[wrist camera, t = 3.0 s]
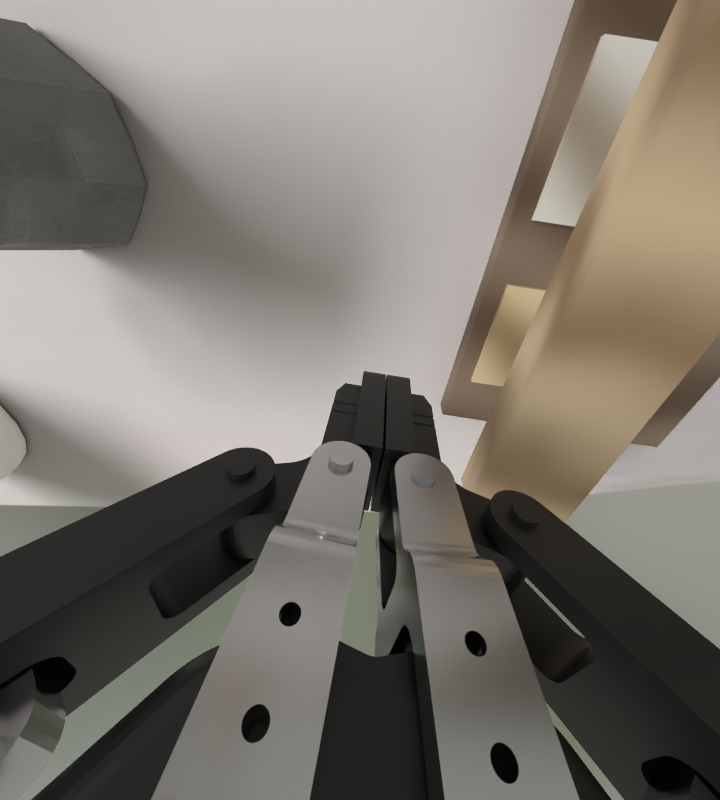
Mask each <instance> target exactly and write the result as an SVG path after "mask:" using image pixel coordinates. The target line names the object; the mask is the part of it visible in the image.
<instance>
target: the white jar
mask: <svg viewBox="0 0 720 800" xmlns="http://www.w3.org/2000/svg"><path fill="white" fill-rule="evenodd" d="M25 454H26V440H25V438H24V436H23V434H22V432H21V430H20V429H19V427H18V425H17V423H16V422H15V421H14V420H13V419H12V418H11V417H10V416H9V414H8V413H7V412H6V411H5V410H4V409H3V408H2V407H1V406H0V480H2V479H3V478H4V477H6V476H7V475H8V474H10V473H11V472H12V471H14V470H15V469H16V468H17V467H18V466H19V464H20V463H21V461H22V460H23V458H24V456H25Z"/></svg>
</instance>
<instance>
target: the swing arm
mask: <svg viewBox="0 0 720 800" xmlns="http://www.w3.org/2000/svg"><path fill="white" fill-rule="evenodd" d="M719 334H720V0H677V2H676V4H675V6H674V8H673V11H672V13H671V15H670V17H669V19H668V22H667V24H666V26H665V28H664V31H663V33H662V35H661V37H660V39H659V42H658V44H657V46H656V48H655V50H654V53H653V55H652V57H651V59H650V62H649V64H648V66H647V68H646V70H645V73H644V75H643V77H642V79H641V81H640V84H639V86H638V88H637V90H636V93H635V95H634V97H633V99H632V101H631V104H630V106H629V108H628V110H627V112H626V115H625V117H624V119H623V121H622V124H621V126H620V128H619V130H618V132H617V135H616V137H615V139H614V141H613V143H612V146H611V148H610V150H609V152H608V154H607V157H606V159H605V161H604V163H603V166H602V168H601V170H600V172H599V174H598V177H597V179H596V181H595V183H594V185H593V188H592V190H591V192H590V194H589V197H588V199H587V201H586V203H585V205H584V208H583V210H582V212H581V214H580V216H579V219H578V221H577V223H576V225H575V228H574V230H573V232H572V234H571V236H570V239H569V241H568V243H567V245H566V247H565V250H564V252H563V254H562V256H561V259H560V261H559V263H558V265H557V267H556V270H555V272H554V274H553V276H552V278H551V281H550V283H549V285H548V287H547V290H546V292H545V294H544V296H543V298H542V301H541V303H540V305H539V307H538V309H537V312H536V314H535V316H534V318H533V320H532V323H531V325H530V327H529V329H528V332H527V334H526V336H525V338H524V340H523V343H522V345H521V347H520V349H519V351H518V354H517V356H516V358H515V360H514V363H513V365H512V367H511V369H510V371H509V374H508V376H507V378H506V380H505V382H504V385H503V387H502V389H501V391H500V394H499V396H498V398H497V400H496V402H495V405H494V407H493V409H492V411H491V413H490V416H489V418H488V420H487V422H486V425H485V427H484V429H483V431H482V433H481V436H480V438H479V440H478V442H477V444H476V447H475V449H474V451H473V453H472V456H471V458H470V460H469V462H468V464H467V467H466V469H465V471H464V473H463V475H462V478H461V481H462V485H463V488H465V489H467V490H469V491H471V492H474V493H476V494H478V495H481V496H483V497H486V498H488V499H490V500H491V498H492V497H493V495H494V494H496V493H497V492H499V491H503V490H513V491H518V492H521V493H524V494H526V495H528V496H530V497H532V498H534V499H535V500H537V501H538V502H540V503H541V504H542V505H543V506H545V507H546V508H547V509H548V510H550V511H551V512H552V513H553V514H554V515H556V516H557V517H558V518H559V519H561V520H562V521H563V522H564V523H565V522H566V520H567V519H568V518H569V517H570V515H571V514H572V513H573V512H574V510H575V509H576V508H577V507H578V506H579V505H580V503H581V502H582V501H583V499H584V498H585V497H586V496H587V495H588V494H589V492H590V491H591V490H592V489H593V487H594V486H595V485H596V484H597V483H598V481H599V480H600V479H601V478H602V477H603V475H604V474H605V473H606V472H607V470H608V469H609V468H610V467H611V466H612V464H613V463H614V462H615V461H616V460H617V458H618V457H619V456H620V455H621V453H622V452H623V451H624V450H625V449H626V447H627V446H628V445H629V444H630V442H631V441H632V440H633V439H634V438H635V436H636V435H637V434H638V433H639V432H640V430H641V429H642V428H643V427H644V425H645V424H646V423H647V422H648V421H649V419H650V418H651V417H652V416H653V414H654V413H655V412H656V411H657V410H658V408H659V407H660V406H661V405H662V404H663V402H664V401H665V400H666V399H667V397H668V396H669V395H670V394H671V393H672V391H673V390H674V389H675V388H676V386H677V385H678V384H679V383H680V382H681V380H682V379H683V378H684V377H685V376H686V374H687V373H688V372H689V371H690V369H691V368H692V367H693V366H694V365H695V363H696V362H697V361H698V360H699V358H700V357H701V356H702V355H703V354H704V352H705V351H706V350H707V349H708V348H709V346H710V345H711V344H712V343H713V341H714V340H715V339H716V338H717V337H718V335H719Z"/></svg>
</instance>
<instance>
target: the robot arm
mask: <svg viewBox="0 0 720 800" xmlns="http://www.w3.org/2000/svg"><path fill="white" fill-rule="evenodd" d="M434 426H435V425H434V419H433V413H432V407H431V405H430V404H429V402H428V401H427V400H426V399H425V397H424V396H422V395H415V394H411V387H410V379H409V378H404V377H398V376H392V375H387V377H386V375H385V374H379V373H372V372H366V371H364V374H363V380H362V386H358V385H352V384H346V383H345V384H344V385H343V386H342V387H341V388H340V389H338V390H337V392H336V395H335V399H334V403H333V406H332V410H331V413H330V417H329V420H328V424H327V427H326V431H325V434H324V438H323V441H322V444H321V446H319V447H318V448H317V449H316V450H315V451H314V453H313V454H312V456H311V457H309V458H307V459H304V460H301V461H298V462H292V463H281V464H275V463H274V461H273V459H272V458H271V456H270V455H268V454H267V453H266V452H264V451H262V450H259V449H255V448H237V449H233V450H229V451H227V452H224V453H222V454H220V455H218V456H216V457H214V458H212V459H209V460H207V461H205V462H203V463H201V464H199V465H197V466H194V467H192V468H190V469H188V470H186V471H184V472H181V473H179V474H177V475H175V476H173V477H171V478H169V479H166V480H164V481H162V482H160V483H158V484H156V485H154V486H151V487H149V488H147V489H145V490H143V491H141V492H138V493H136V494H134V495H132V496H130V497H128V498H126V499H123V500H121V501H119V502H117V503H115V504H113V505H111V506H108V507H106V508H104V509H102V510H100V511H98V512H95V513H94V514H91V515H89V516H87V517H85V518H83V519H80V520H79V521H76V522H74V523H72V524H70V525H68V526H66V527H63V528H61V529H59V530H57V531H55V532H52V533H50V534H48V535H46V536H44V537H42V538H40V539H38V540H35V541H33V542H31V543H29V544H27V545H25V546H23V547H20V548H18V549H16V550H14V551H12V552H10V553H7V554H5V555H3V556H1V557H0V800H16V799H17V798H18V797H19V796H20V795H21V794H22V793H23V792H24V791H25V790H26V789H27V788H28V787H29V786H30V785H31V784H32V782H33V781H34V780H35V779H36V778H37V777H38V775H39V774H40V773H41V771H42V770H43V768H44V767H45V766H46V764H47V763H48V761H49V759H50V758H51V756H52V754H53V753H54V750H55V748H56V746H57V744H58V742H59V740H60V737H61V734H62V731H63V727H64V723H65V717H66V716H67V715H69V714H70V713H71V712H73V711H74V710H75V709H77V708H78V707H79V706H80V705H82V704H83V703H84V702H86V701H87V700H88V699H90V698H91V697H92V696H93V695H95V694H96V693H97V692H99V691H100V690H101V689H103V688H104V687H105V686H106V685H108V684H109V683H110V682H111V681H113V680H114V679H116V678H117V677H118V676H119V675H121V674H122V673H123V672H125V671H126V670H127V669H128V668H130V667H131V666H132V665H134V664H135V663H136V662H137V661H139V660H140V659H141V658H143V657H144V656H145V655H147V654H148V653H149V652H151V651H152V650H153V649H154V648H156V647H157V646H158V645H160V644H161V643H162V642H163V641H165V640H166V639H167V638H169V637H170V636H171V635H173V634H174V633H175V632H177V631H178V630H179V629H180V628H182V627H183V626H184V625H186V624H187V623H188V622H190V621H191V620H192V619H193V618H195V617H196V616H197V615H199V614H200V613H201V612H202V611H204V610H205V609H206V608H208V607H209V606H210V605H212V604H213V603H214V602H215V601H217V600H218V599H219V598H221V597H222V596H223V595H224V594H226V593H227V592H228V591H230V590H231V589H232V588H234V587H235V586H236V585H238V584H239V583H240V582H241V581H243V580H244V579H245V578H246V577H248V576H249V575H250V574H252V575H251V577H250V579H249V582H248V584H247V586H246V588H245V590H244V593H243V595H242V597H241V599H240V602H239V604H238V606H237V608H236V611H235V613H234V615H233V617H232V620H231V622H230V624H229V627H228V628H227V631H226V633H225V636H224V638H223V640H222V642H221V644H220V645H219V646H217V647H215V648H212V649H210V650H208V651H206V652H205V653H203V654H201V655H200V656H198V657H196V658H194V659H193V660H191V661H190V662H188V663H187V664H186V665H184V666H183V667H182V668H180V669H179V670H177V671H176V672H175V673H174V674H172V675H171V676H170V677H169V678H168V679H166V680H165V681H164V682H163V683H162V684H161V685H160V686H158V687H157V688H156V689H155V690H154V691H153V692H152V693H151V694H149V695H148V696H147V697H146V698H145V699H144V700H143V701H142V702H141V703H139V704H138V705H137V706H136V707H135V708H134V709H133V710H132V711H130V712H129V713H128V714H127V715H126V716H125V717H124V718H123V719H121V720H120V721H119V722H118V723H117V724H116V725H115V726H114V727H113V728H112V729H110V730H109V731H108V732H107V733H106V734H105V735H103V736H102V737H101V738H100V739H99V740H98V741H97V742H96V743H95V744H93V745H92V746H91V747H90V748H89V749H88V750H87V751H86V752H84V754H82V755H81V756H80V757H79V758H78V759H77V760H76V761H74V762H73V763H72V764H71V765H70V766H69V767H68V768H66V769H65V770H64V771H63V772H62V773H61V774H60V775H59V776H57V777H56V778H55V779H54V780H53V781H52V782H51V783H50V784H49V785H47V786H46V787H45V788H44V789H43V790H42V791H41V792H39V793H38V794H37V795H36V796H35V797H34V798H33V799H32V800H611V798H610V797H609V796H608V794H607V793H606V792H605V791H604V789H603V788H602V786H601V785H600V784H599V782H598V781H597V780H596V778H595V777H594V776H593V775H592V773H591V772H590V770H589V769H588V768H587V766H586V765H585V764H584V763H583V761H582V760H581V758H580V757H579V756H578V754H577V753H576V752H575V751H574V749H573V748H572V746H571V745H570V744H569V743H568V741H567V740H566V739H565V738H564V736H563V735H562V734H561V733H560V732H559V730H558V729H557V728H556V727H555V726H554V725H553V722H552V719H551V716H550V713H549V711H548V707H547V705H546V702H547V704H548V705H549V706H550V707H551V709H552V710H553V711H554V712H555V714H556V715H557V716H558V717H559V718H560V720H561V721H562V722H563V724H564V725H565V726H566V727H567V729H568V730H569V731H570V732H571V734H572V735H573V736H574V737H575V738H576V740H577V741H578V742H579V744H580V745H581V746H582V747H583V749H584V750H585V751H586V752H587V754H588V755H589V756H590V757H591V758H592V760H593V761H594V762H595V763H596V765H597V766H598V767H599V768H600V770H601V771H602V772H603V773H604V775H605V776H606V777H607V778H608V780H609V781H610V782H611V783H612V785H613V786H614V787H615V788H616V789H617V791H618V792H619V793H620V795H621V796H622V797H623V798H624V800H720V649H719V648H717V647H716V646H715V645H714V644H713V643H711V642H710V641H709V640H708V639H706V638H705V637H704V636H702V634H700V633H699V632H698V631H697V630H695V629H694V628H693V627H692V626H691V625H689V624H688V623H687V622H686V621H684V620H683V619H682V618H681V617H679V616H678V615H677V614H676V613H675V612H673V611H672V610H671V609H670V608H668V607H667V606H666V605H665V604H664V603H662V602H661V601H660V600H659V599H657V598H656V597H655V596H653V595H652V594H651V593H650V592H649V591H648V590H646V589H645V588H644V587H643V586H641V585H640V584H639V583H638V582H637V581H635V580H634V579H633V578H632V577H630V576H629V575H628V574H627V573H625V572H624V571H623V570H622V569H621V568H619V567H618V566H617V565H616V564H614V563H613V562H612V561H611V560H609V559H608V558H607V557H606V556H605V555H603V554H602V553H601V552H600V551H599V550H597V549H596V548H595V547H594V546H592V545H591V544H590V543H589V542H587V541H586V540H585V539H584V538H583V537H581V536H580V535H579V534H578V533H577V532H575V531H574V530H573V529H572V528H570V527H569V526H568V525H567V524H565V523H564V522H563V521H562V520H561V519H559V518H558V517H557V516H556V515H554V514H553V513H552V512H551V511H550V510H548V509H547V508H546V507H545V506H543V505H542V504H541V503H540V502H538V501H537V500H535V499H534V498H532V497H530V496H528V495H526V494H524V493H521V492H518V491H513V490H503V491H499V492H497V493H496V494H494V495H493V497H492V498H491V500H490V499H488V498H486V497H483V496H481V495H478V494H476V493H474V492H471V491H469V490H467V489H465V488H463V487H461V486H460V485H458V484H457V483H455V481H454V478H453V475H452V473H451V471H450V470H449V469H448V467H447V466H446V465H445V464H444V463H442V462H441V459H440V453H439V448H438V442H437V436H436V430H435V428H434ZM371 496H372V499H371ZM370 501H371V511H375V512H380V516H379V527H378V531H377V534H376V570H377V603H378V620H377V630H376V638H375V657H373V656H369V655H366V654H364V653H362V652H360V651H358V650H356V649H354V648H352V647H350V646H348V645H346V644H344V643H342V642H340V641H339V638H340V632H341V628H342V622H343V617H344V611H345V606H346V601H347V595H348V590H349V584H350V579H351V574H352V568H353V563H354V557H355V552H356V546H357V538H358V532H359V530H360V527H361V522H362V518H363V513H364V510H368V509H369V505H370ZM526 577H527V578H528V579H529V580H530V581H531V582H532V583H533V584H534V585H535V587H536V588H538V590H539V591H540V592H542V594H543V595H544V596H545V597H546V598H547V599H549V601H550V602H551V603H552V604H553V605H554V606H555V607H556V608H557V609H558V610H559V611H560V612H561V613H562V614H563V615H564V616H565V617H566V618H567V619H568V620H569V621H570V622H571V623H572V624H573V625H574V626H575V627H576V628H577V629H578V630H579V631H580V632H581V633H582V634H583V635H584V637H585V638H583V637H581V636H579V635H578V634H577V633H575V632H574V631H573V630H572V629H571V628H570V627H569V626H568V625H567V624H566V623H565V622H564V621H563V620H562V619H561V618H560V617H559V616H558V615H557V614H556V613H555V612H554V611H553V610H552V609H551V608H550V607H549V606H548V605H547V604H546V603H545V602H544V600H543V599H542V598H541V597H540V596H539V595H538V594H537V593H536V592H535V591H534V590H533V589H532V588H531V587H530V586H529V585H528V584H527V583H526V582H525V581H524V579H525V578H526ZM545 701H546V702H545Z"/></svg>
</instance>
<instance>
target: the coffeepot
mask: <svg viewBox="0 0 720 800" xmlns="http://www.w3.org/2000/svg"><path fill="white" fill-rule="evenodd" d="M146 186H147V185H146V182H145V179H144V175H143V172H142V169H141V165H140V162H139V159H138V156H137V153H136V149H135V146H134V143H133V141H132V139H131V137H130V135H129V132H128V130H127V128H126V126H125V124H124V122H123V120H122V119H121V117H120V115H119V114H118V112H117V110H116V108H115V105H114V103H113V100H112V98H111V95H110V93H109V92H108V91H106V90H105V89H104V88H103V87H102V86H100V85H99V84H98V83H97V82H96V81H94V80H93V79H92V78H91V77H90V76H89V75H88V74H87V73H86V72H85V71H84V70H83V69H82V68H81V67H80V66H79V65H78V64H77V63H76V62H74V61H73V60H72V59H70V58H69V57H67V56H66V55H65V54H63V53H62V52H60V51H59V50H58V49H56V48H55V47H54V46H52V45H51V44H50V43H49V42H48V41H46V40H45V39H44V38H43V37H42V36H40V35H39V34H38V33H37V32H36V31H34V30H33V29H32V28H31V27H30V26H28V25H27V24H26V23H22V22H17V21H11V20H6V19H1V18H0V250H78V249H87V248H95V247H104V246H113V245H121V244H128V243H129V240H130V238H131V235H132V233H133V231H134V228H135V226H136V224H137V222H138V220H139V218H140V215H141V210H142V205H143V195H144V192H145V189H146Z"/></svg>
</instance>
